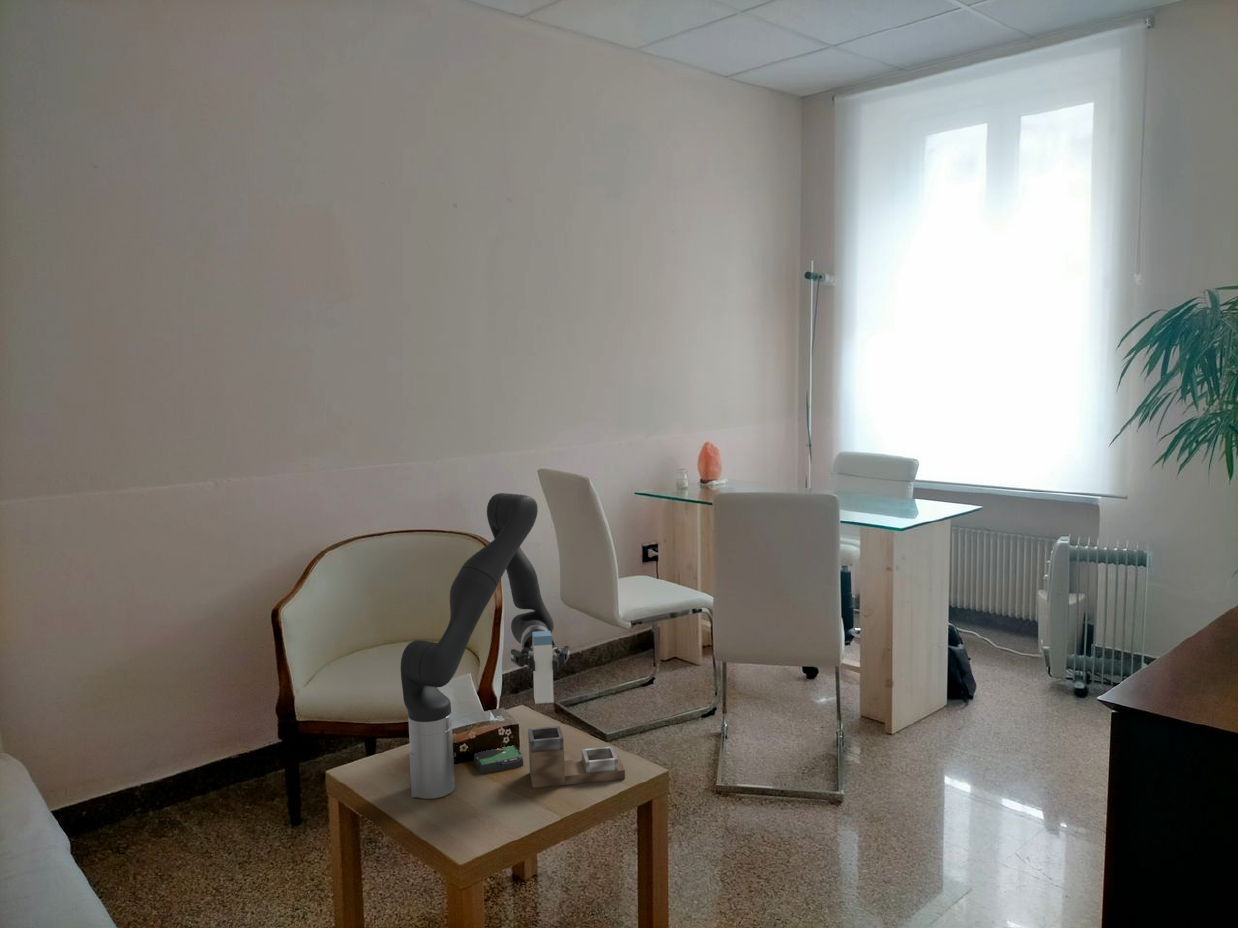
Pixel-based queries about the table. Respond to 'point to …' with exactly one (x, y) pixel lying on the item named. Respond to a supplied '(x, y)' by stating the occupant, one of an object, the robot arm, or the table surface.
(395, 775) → the table surface
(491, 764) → the disk drive
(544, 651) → the plug
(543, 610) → the robot arm
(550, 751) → the square socket stand
